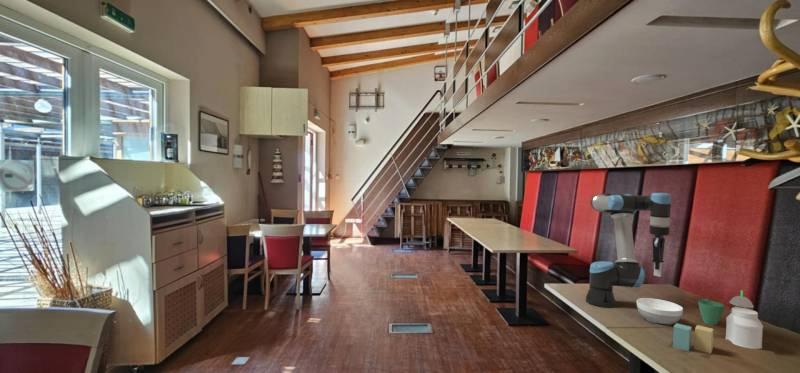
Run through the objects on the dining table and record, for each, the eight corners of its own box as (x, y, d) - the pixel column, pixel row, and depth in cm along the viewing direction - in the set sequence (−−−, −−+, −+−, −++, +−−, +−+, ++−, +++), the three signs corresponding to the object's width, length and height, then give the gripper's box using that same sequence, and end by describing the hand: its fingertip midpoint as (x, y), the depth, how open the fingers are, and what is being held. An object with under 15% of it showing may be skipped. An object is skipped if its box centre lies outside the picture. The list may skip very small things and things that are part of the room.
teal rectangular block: (672, 346, 151) (673, 326, 151) (675, 343, 155) (676, 323, 155) (688, 351, 148) (689, 330, 147) (690, 347, 151) (691, 326, 151)
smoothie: (747, 338, 163) (749, 294, 163) (724, 331, 171) (726, 289, 170) (755, 334, 167) (757, 291, 167) (732, 328, 175) (734, 286, 174)
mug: (726, 328, 174) (727, 308, 174) (700, 324, 178) (701, 304, 178) (716, 318, 187) (717, 299, 187) (692, 314, 191) (693, 295, 191)
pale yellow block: (694, 348, 150) (695, 328, 150) (696, 345, 153) (697, 324, 153) (710, 353, 146) (711, 332, 146) (712, 349, 150) (713, 328, 149)
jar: (766, 352, 150) (767, 316, 149) (738, 349, 152) (739, 314, 152) (748, 340, 161) (749, 307, 161) (722, 337, 163) (723, 304, 163)
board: (668, 349, 151) (668, 346, 151) (674, 340, 160) (674, 338, 160) (708, 360, 142) (708, 358, 142) (713, 351, 150) (713, 348, 150)
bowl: (684, 321, 182) (685, 304, 182) (680, 333, 168) (680, 314, 168) (640, 311, 195) (640, 295, 194) (632, 321, 181) (633, 304, 181)
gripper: (666, 228, 162) (663, 280, 163) (672, 225, 171) (670, 275, 172) (646, 226, 168) (644, 276, 169) (653, 223, 176) (651, 271, 178)
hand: (657, 275), depth 170 cm, fingers closed
